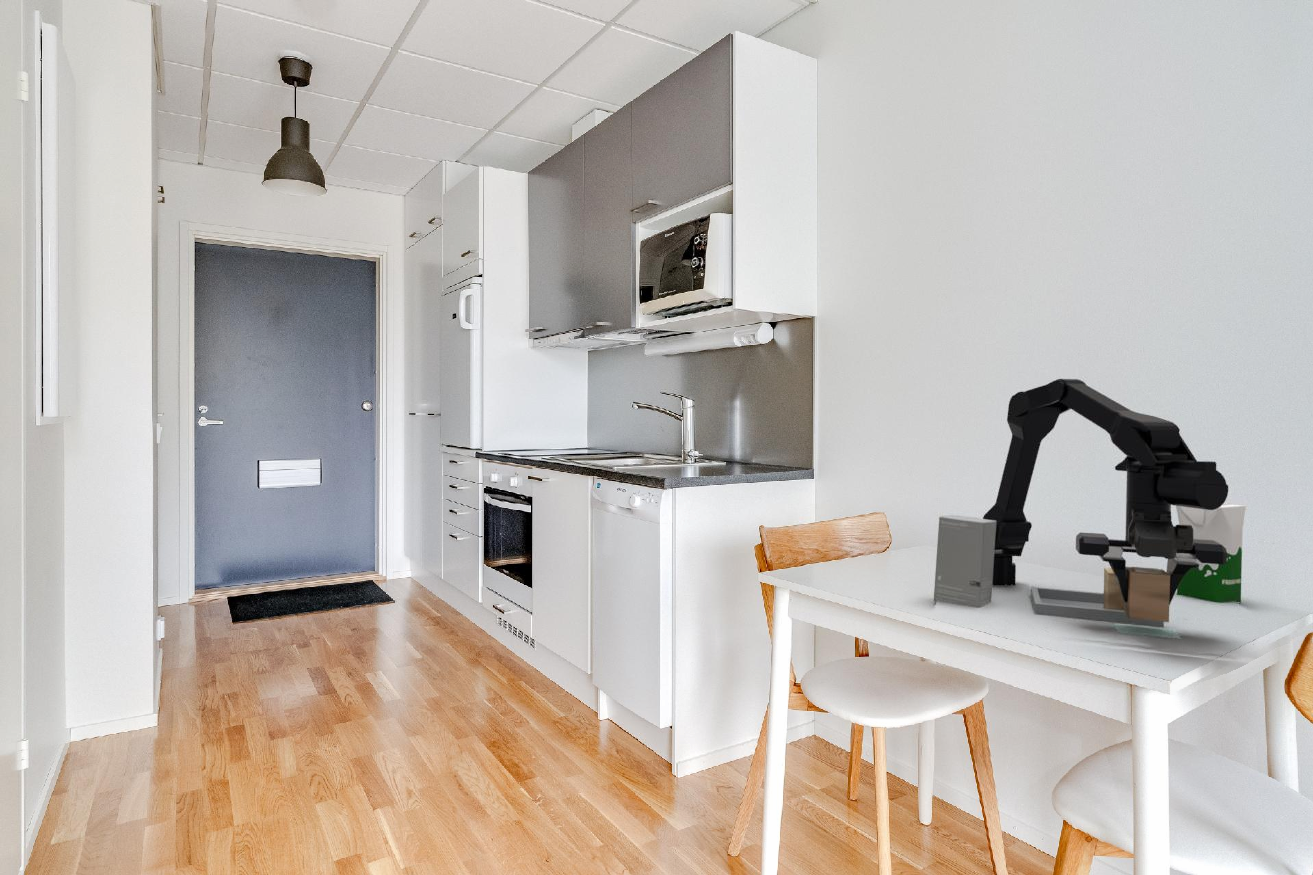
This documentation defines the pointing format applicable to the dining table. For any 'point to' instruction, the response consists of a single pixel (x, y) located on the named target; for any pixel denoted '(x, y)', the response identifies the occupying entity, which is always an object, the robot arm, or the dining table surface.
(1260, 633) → the dining table surface
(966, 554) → the skincare box
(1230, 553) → the milk carton
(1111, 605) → the oak box
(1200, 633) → the dining table surface
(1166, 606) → the walnut box
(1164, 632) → the teal pad
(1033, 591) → the tray
